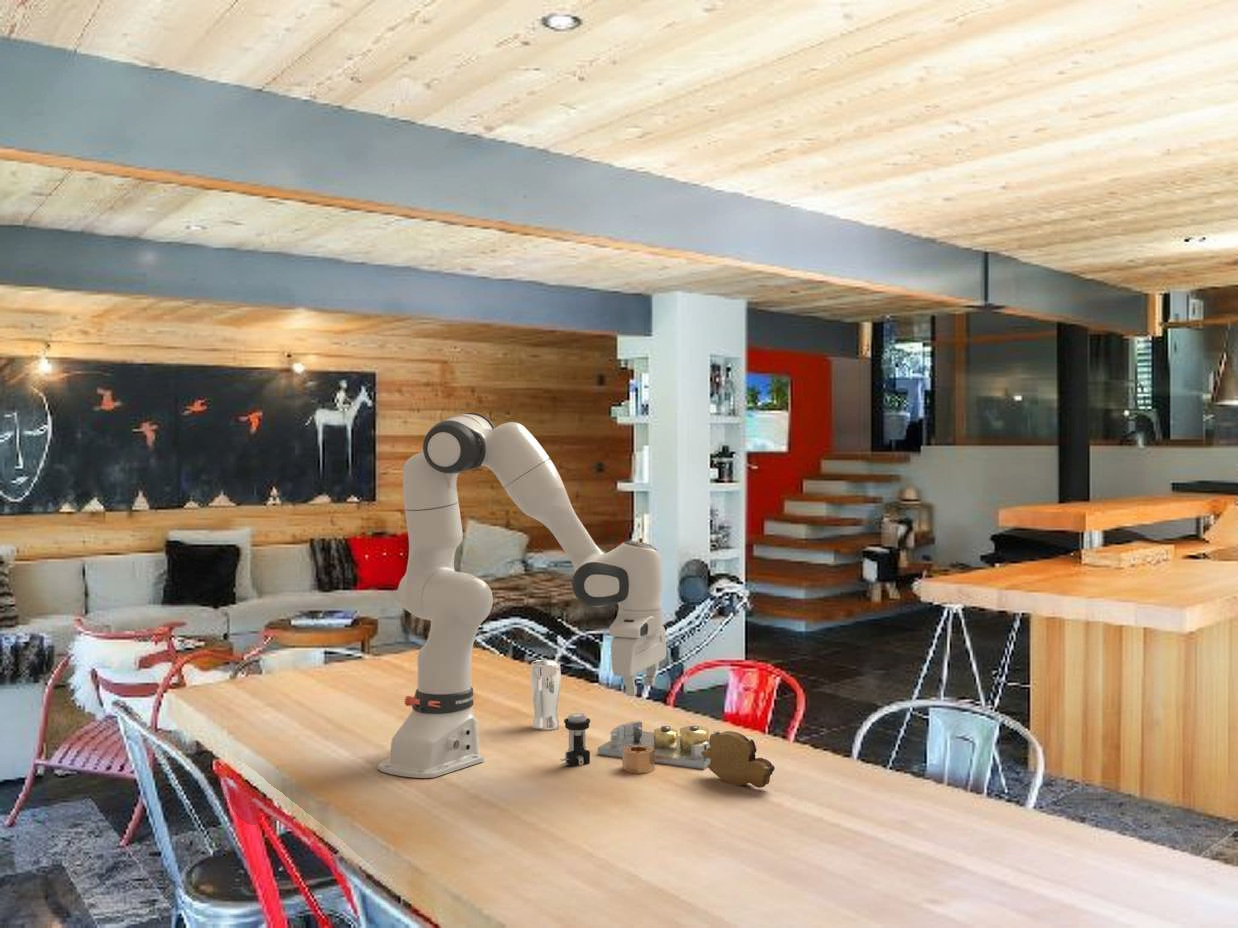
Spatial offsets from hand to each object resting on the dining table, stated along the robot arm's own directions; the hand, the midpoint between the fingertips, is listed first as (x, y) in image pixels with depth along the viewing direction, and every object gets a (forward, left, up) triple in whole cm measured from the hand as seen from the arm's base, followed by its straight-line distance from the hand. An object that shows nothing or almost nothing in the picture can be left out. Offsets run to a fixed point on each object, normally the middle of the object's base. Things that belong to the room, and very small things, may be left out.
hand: (640, 690), depth 223 cm
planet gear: (-2, 0, -16) cm, 16 cm away
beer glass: (+18, +33, -16) cm, 41 cm away
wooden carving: (-2, -21, -16) cm, 26 cm away
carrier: (+12, 0, -16) cm, 20 cm away
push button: (-5, +13, -16) cm, 21 cm away
